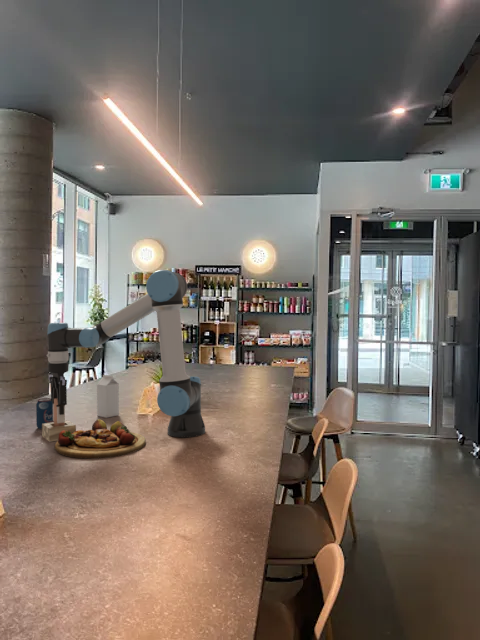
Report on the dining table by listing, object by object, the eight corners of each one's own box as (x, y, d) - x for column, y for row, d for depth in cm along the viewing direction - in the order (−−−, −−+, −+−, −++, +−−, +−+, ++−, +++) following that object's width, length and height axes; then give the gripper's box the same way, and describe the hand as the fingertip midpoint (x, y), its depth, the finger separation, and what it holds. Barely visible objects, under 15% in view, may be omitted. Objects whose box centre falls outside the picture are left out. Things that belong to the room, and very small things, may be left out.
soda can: (48, 430, 203) (47, 401, 203) (33, 429, 205) (32, 400, 204) (57, 426, 210) (57, 398, 210) (42, 425, 211) (42, 397, 211)
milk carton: (106, 418, 225) (106, 376, 225) (97, 416, 229) (96, 375, 229) (119, 415, 231) (118, 375, 230) (109, 413, 235) (109, 374, 235)
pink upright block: (65, 434, 192) (66, 399, 191) (55, 436, 189) (55, 400, 189) (62, 432, 195) (63, 397, 194) (52, 434, 192) (52, 398, 192)
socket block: (76, 437, 191) (75, 424, 191) (49, 441, 185) (49, 428, 185) (67, 432, 199) (67, 420, 199) (42, 436, 193) (42, 423, 193)
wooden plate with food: (49, 463, 160) (50, 438, 160) (59, 437, 191) (59, 416, 191) (148, 457, 169) (149, 433, 168) (142, 433, 199) (142, 413, 199)
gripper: (41, 360, 196) (42, 418, 197) (55, 364, 182) (55, 427, 182) (60, 359, 201) (61, 416, 201) (75, 363, 186) (76, 424, 187)
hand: (58, 421), depth 192 cm, fingers open, 5 cm apart
